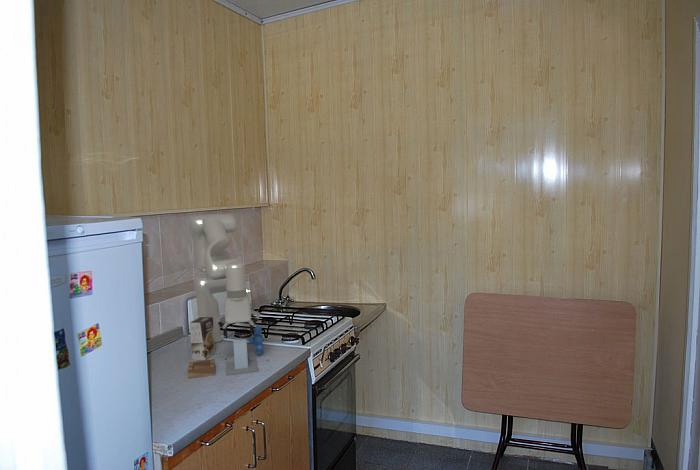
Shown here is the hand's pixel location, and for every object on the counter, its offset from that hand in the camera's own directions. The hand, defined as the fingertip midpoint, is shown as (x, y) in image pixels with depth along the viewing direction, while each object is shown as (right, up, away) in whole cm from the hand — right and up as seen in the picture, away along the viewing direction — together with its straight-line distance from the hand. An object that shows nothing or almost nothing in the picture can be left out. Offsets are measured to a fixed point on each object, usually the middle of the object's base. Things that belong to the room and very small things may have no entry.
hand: (239, 336), depth 188 cm
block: (+1, -12, +1) cm, 12 cm away
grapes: (+4, -11, +16) cm, 20 cm away
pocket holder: (-14, -13, -3) cm, 19 cm away
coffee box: (-18, -12, +15) cm, 27 cm away
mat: (+1, -12, +1) cm, 13 cm away
